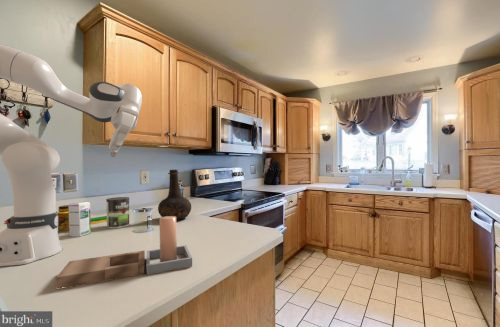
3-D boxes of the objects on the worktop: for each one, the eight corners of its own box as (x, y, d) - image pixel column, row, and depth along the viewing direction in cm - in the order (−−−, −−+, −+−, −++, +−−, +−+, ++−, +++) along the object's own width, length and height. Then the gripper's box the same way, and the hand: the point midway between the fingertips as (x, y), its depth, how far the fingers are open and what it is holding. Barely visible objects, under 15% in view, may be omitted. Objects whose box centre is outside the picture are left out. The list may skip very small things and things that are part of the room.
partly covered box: (56, 289, 60) (56, 277, 60) (69, 271, 70) (69, 261, 70) (144, 273, 68) (143, 263, 68) (144, 259, 78) (144, 250, 78)
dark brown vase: (195, 215, 144) (194, 168, 144) (184, 223, 126) (183, 169, 126) (167, 215, 146) (166, 169, 146) (152, 222, 128) (151, 170, 128)
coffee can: (133, 224, 124) (133, 197, 124) (113, 229, 115) (113, 200, 115) (122, 222, 129) (122, 196, 129) (102, 227, 120) (102, 199, 120)
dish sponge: (84, 223, 130) (84, 219, 130) (112, 218, 140) (112, 214, 140) (88, 225, 125) (88, 221, 125) (117, 220, 136) (117, 216, 136)
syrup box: (80, 237, 104) (79, 203, 104) (68, 236, 105) (68, 203, 105) (91, 233, 110) (90, 201, 110) (80, 232, 111) (79, 201, 111)
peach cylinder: (160, 266, 72) (159, 220, 72) (159, 260, 77) (159, 217, 77) (177, 263, 74) (177, 218, 74) (176, 258, 79) (175, 215, 79)
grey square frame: (146, 274, 67) (146, 265, 67) (147, 258, 79) (146, 250, 79) (192, 266, 72) (192, 258, 72) (186, 252, 84) (186, 245, 84)
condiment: (54, 233, 110) (54, 207, 110) (60, 229, 118) (60, 204, 118) (73, 231, 113) (73, 206, 113) (78, 227, 121) (78, 203, 121)
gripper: (109, 130, 99) (100, 159, 92) (121, 103, 85) (111, 135, 78) (126, 135, 102) (118, 164, 96) (140, 110, 88) (132, 141, 82)
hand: (115, 151), depth 87 cm, fingers open, 8 cm apart
